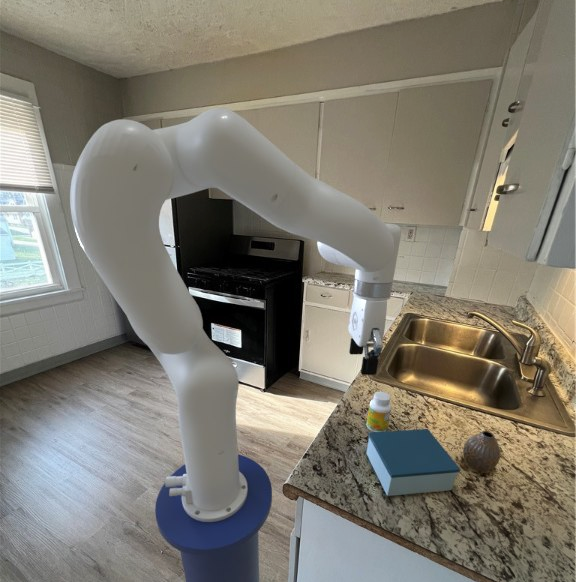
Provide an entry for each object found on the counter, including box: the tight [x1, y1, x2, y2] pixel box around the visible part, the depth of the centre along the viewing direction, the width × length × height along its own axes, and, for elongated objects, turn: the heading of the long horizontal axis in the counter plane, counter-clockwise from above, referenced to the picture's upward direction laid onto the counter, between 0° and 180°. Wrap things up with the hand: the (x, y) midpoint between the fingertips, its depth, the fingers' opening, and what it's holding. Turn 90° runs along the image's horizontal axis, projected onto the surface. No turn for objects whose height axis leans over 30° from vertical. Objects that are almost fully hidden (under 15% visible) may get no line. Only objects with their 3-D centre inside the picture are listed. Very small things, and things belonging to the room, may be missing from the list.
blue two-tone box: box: [366, 428, 462, 497], centre depth 68 cm, size 14×12×6 cm
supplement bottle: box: [365, 391, 392, 432], centre depth 80 cm, size 5×5×10 cm
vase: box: [462, 430, 501, 472], centre depth 69 cm, size 7×7×9 cm
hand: (361, 363), depth 71 cm, fingers open, 9 cm apart
